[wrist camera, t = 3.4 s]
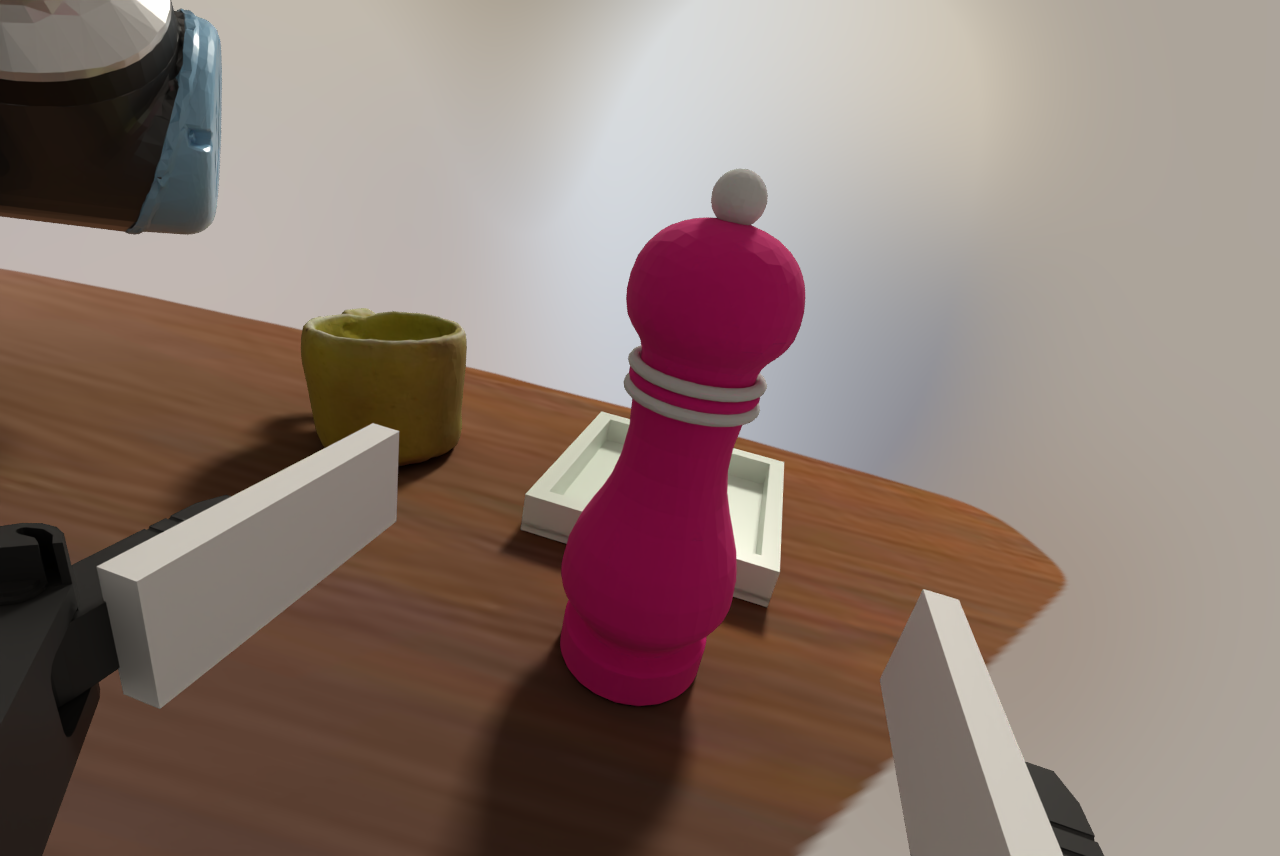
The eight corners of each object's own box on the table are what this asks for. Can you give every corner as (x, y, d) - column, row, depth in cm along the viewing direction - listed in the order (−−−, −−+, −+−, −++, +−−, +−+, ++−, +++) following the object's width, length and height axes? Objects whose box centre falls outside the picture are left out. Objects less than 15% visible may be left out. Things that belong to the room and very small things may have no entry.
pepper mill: (671, 752, 22) (846, 183, 14) (514, 662, 24) (590, 133, 17) (728, 637, 28) (873, 198, 20) (599, 575, 31) (683, 160, 23)
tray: (520, 529, 33) (525, 494, 32) (596, 438, 46) (601, 411, 45) (767, 607, 31) (779, 572, 30) (775, 489, 44) (784, 462, 43)
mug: (510, 450, 37) (464, 292, 34) (338, 510, 33) (265, 340, 30) (470, 406, 48) (432, 283, 44) (336, 449, 44) (281, 317, 40)
